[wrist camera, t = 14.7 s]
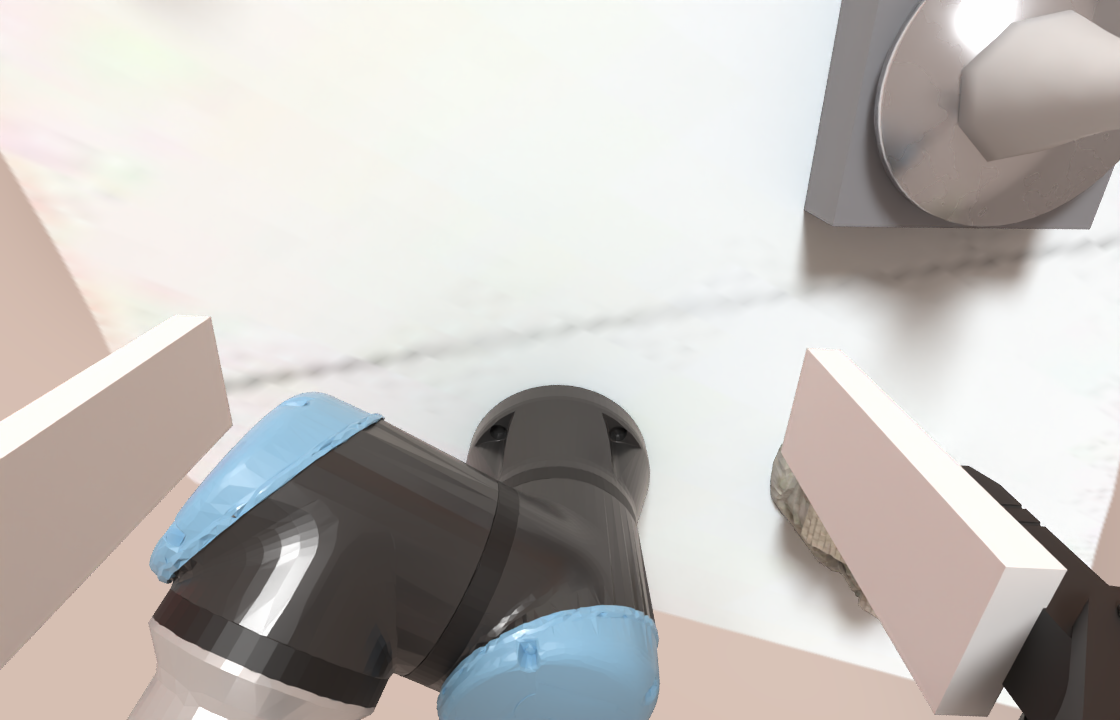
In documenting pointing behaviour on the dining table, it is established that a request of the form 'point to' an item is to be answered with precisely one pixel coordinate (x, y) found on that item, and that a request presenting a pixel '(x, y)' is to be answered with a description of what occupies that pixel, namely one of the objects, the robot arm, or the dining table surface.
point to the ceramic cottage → (809, 524)
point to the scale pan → (933, 117)
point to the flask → (1041, 86)
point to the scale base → (850, 147)
